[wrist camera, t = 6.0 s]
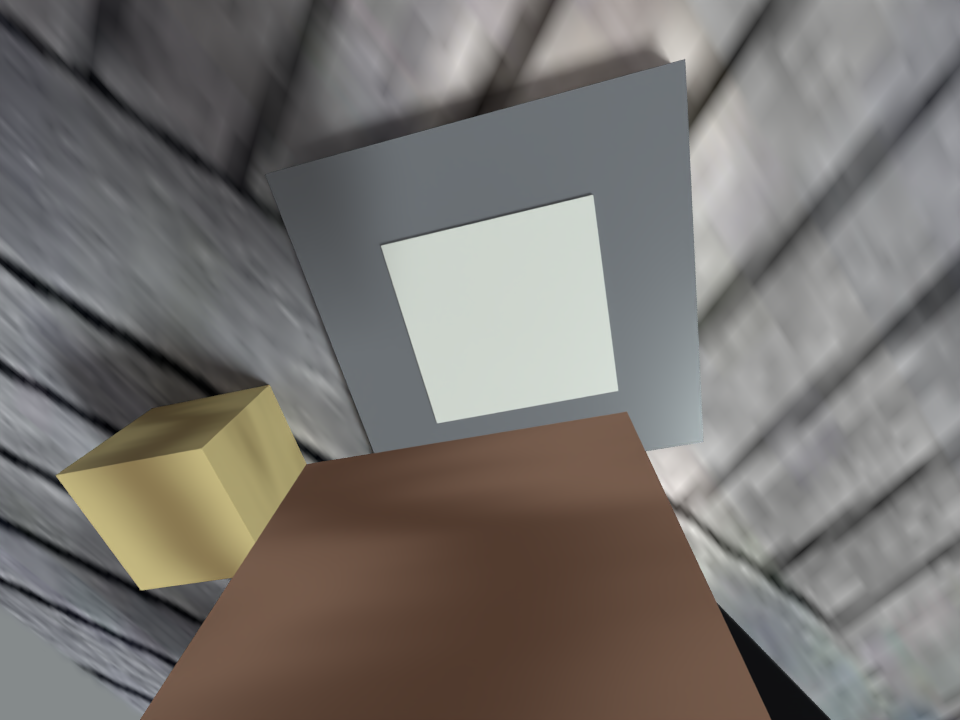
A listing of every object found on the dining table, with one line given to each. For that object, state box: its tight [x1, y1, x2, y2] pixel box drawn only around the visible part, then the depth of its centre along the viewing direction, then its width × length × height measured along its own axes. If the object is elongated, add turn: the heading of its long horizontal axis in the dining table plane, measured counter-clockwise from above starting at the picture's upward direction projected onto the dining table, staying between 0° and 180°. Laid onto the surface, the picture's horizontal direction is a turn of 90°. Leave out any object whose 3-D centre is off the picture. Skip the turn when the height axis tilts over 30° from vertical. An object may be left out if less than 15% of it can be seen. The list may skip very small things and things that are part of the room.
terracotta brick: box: [140, 412, 771, 720], centre depth 7 cm, size 6×6×5 cm
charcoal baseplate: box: [265, 59, 703, 453], centre depth 17 cm, size 14×14×1 cm
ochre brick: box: [56, 385, 306, 590], centre depth 19 cm, size 6×6×5 cm
